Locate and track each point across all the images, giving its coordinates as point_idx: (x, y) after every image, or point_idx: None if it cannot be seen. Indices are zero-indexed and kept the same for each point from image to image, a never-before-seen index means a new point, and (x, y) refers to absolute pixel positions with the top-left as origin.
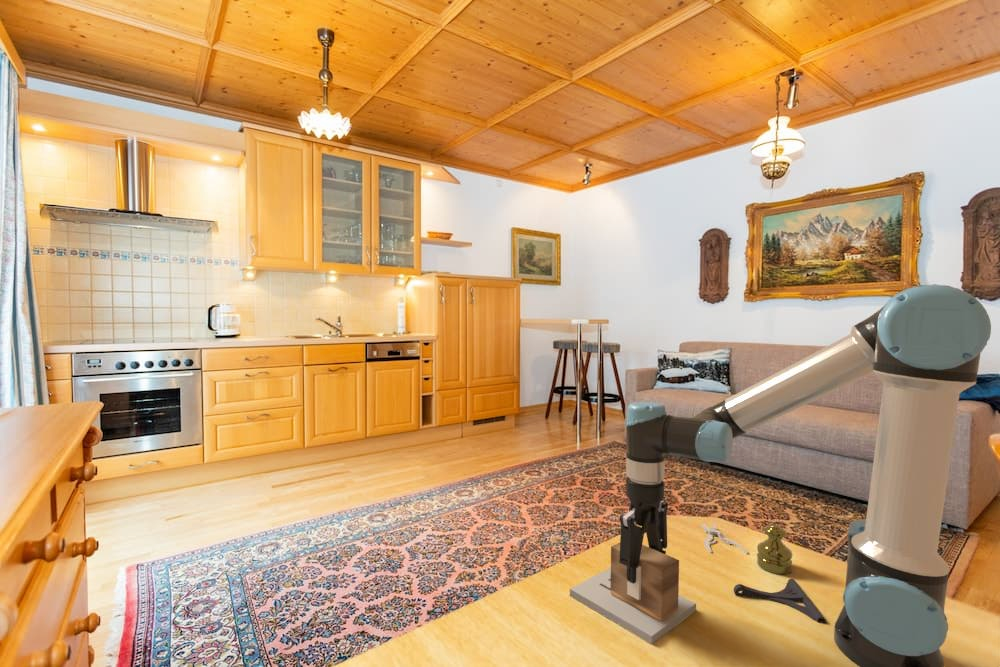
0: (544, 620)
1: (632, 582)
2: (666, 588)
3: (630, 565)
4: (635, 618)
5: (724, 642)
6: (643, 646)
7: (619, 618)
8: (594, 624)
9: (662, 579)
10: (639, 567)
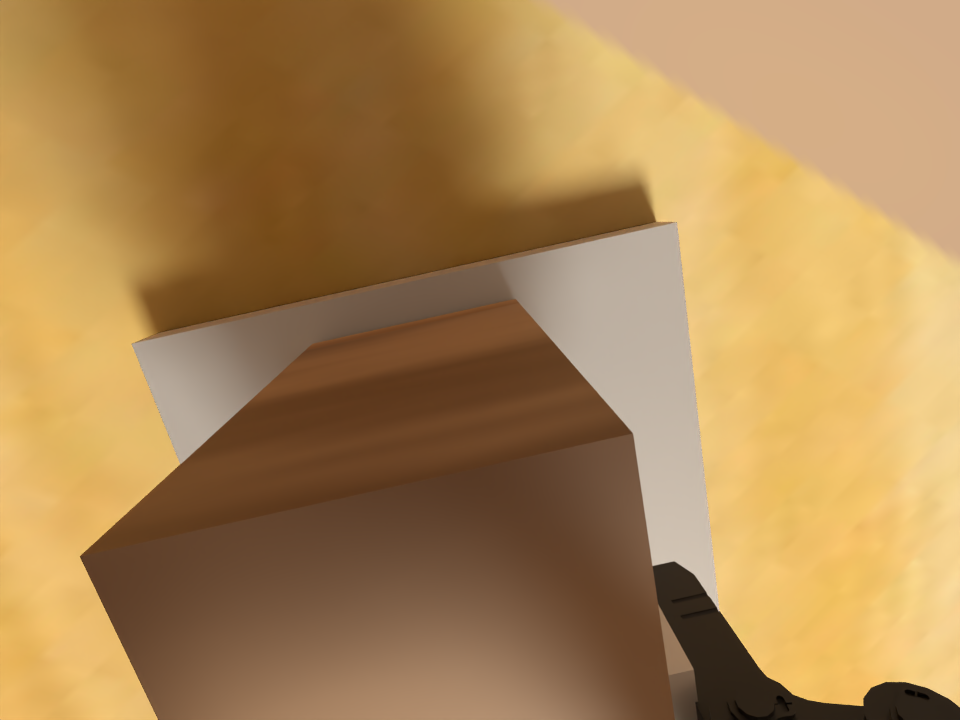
0: (954, 603)
1: (682, 571)
2: (468, 364)
3: (944, 713)
4: (625, 398)
5: (229, 3)
6: (706, 231)
7: (699, 441)
8: (783, 485)
9: (576, 384)
10: (681, 672)
